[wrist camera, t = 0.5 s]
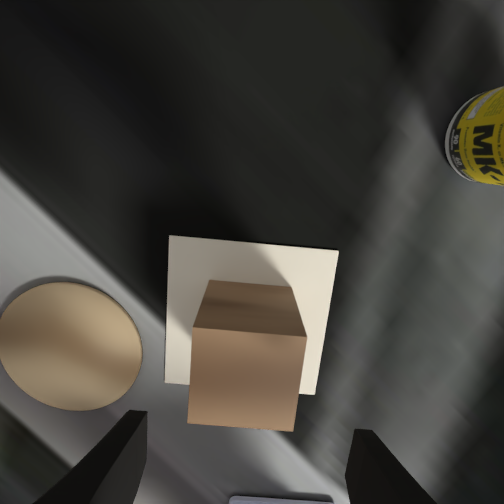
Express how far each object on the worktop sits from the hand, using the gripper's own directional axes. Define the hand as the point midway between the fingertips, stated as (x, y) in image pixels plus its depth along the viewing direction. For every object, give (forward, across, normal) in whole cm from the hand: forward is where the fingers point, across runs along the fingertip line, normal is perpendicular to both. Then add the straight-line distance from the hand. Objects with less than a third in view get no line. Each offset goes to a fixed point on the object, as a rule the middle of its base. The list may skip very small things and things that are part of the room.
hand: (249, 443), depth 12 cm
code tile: (+10, 0, 0) cm, 10 cm away
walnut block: (+10, 0, 0) cm, 10 cm away
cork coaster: (+10, +11, +3) cm, 15 cm away
